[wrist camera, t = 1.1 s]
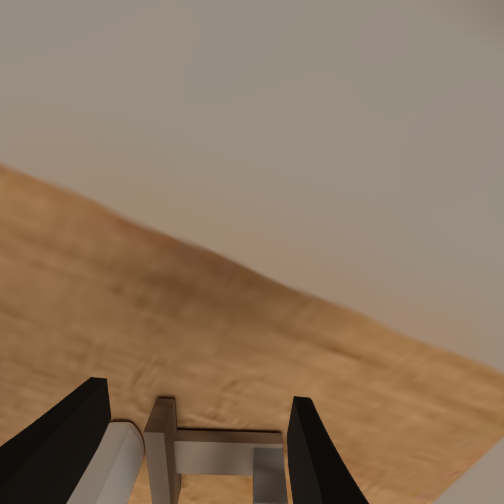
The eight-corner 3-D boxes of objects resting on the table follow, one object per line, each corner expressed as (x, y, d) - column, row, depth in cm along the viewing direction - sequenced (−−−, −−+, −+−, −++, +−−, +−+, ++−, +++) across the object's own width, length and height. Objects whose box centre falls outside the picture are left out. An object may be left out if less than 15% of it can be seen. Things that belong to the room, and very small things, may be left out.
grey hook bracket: (165, 486, 27) (146, 557, 22) (156, 398, 23) (132, 460, 19) (276, 490, 27) (281, 561, 22) (284, 402, 24) (292, 465, 19)
